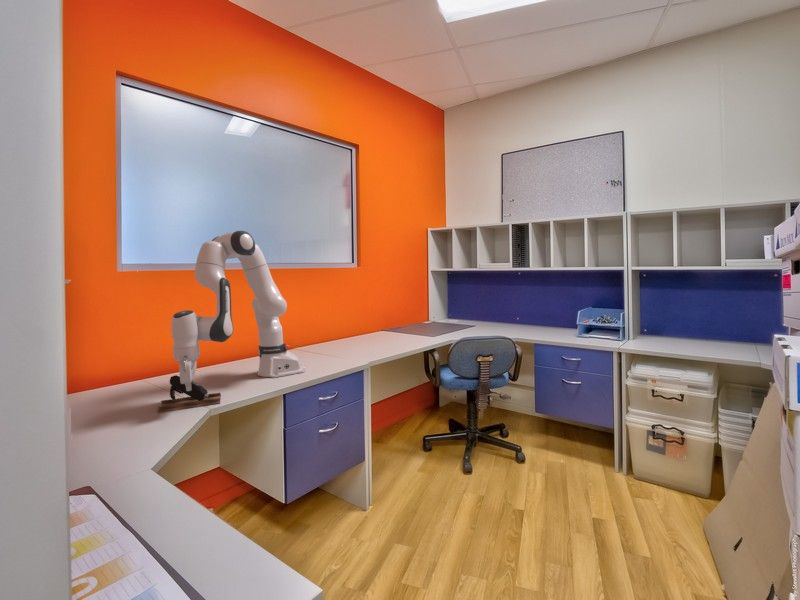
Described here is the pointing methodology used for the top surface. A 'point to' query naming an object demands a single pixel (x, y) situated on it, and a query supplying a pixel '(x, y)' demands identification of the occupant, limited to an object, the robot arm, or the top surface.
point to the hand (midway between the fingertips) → (189, 388)
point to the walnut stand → (188, 403)
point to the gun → (196, 392)
